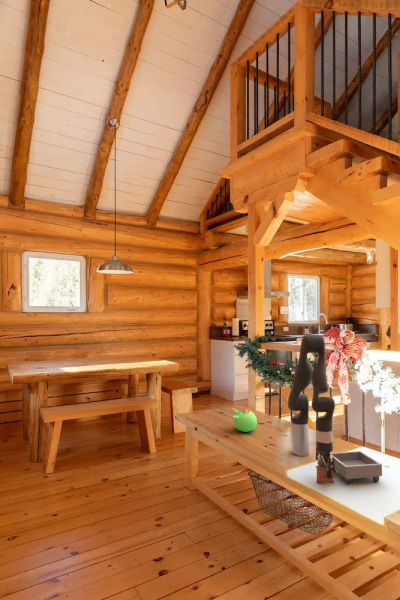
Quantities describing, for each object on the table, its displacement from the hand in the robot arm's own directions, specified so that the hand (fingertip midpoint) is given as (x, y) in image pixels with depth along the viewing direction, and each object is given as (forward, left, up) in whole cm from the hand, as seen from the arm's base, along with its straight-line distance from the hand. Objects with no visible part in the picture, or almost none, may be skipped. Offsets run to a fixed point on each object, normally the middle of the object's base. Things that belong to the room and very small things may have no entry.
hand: (325, 474), depth 183 cm
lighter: (0, 0, -4) cm, 4 cm away
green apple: (-85, -16, -4) cm, 87 cm away
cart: (-4, +17, -4) cm, 18 cm away
